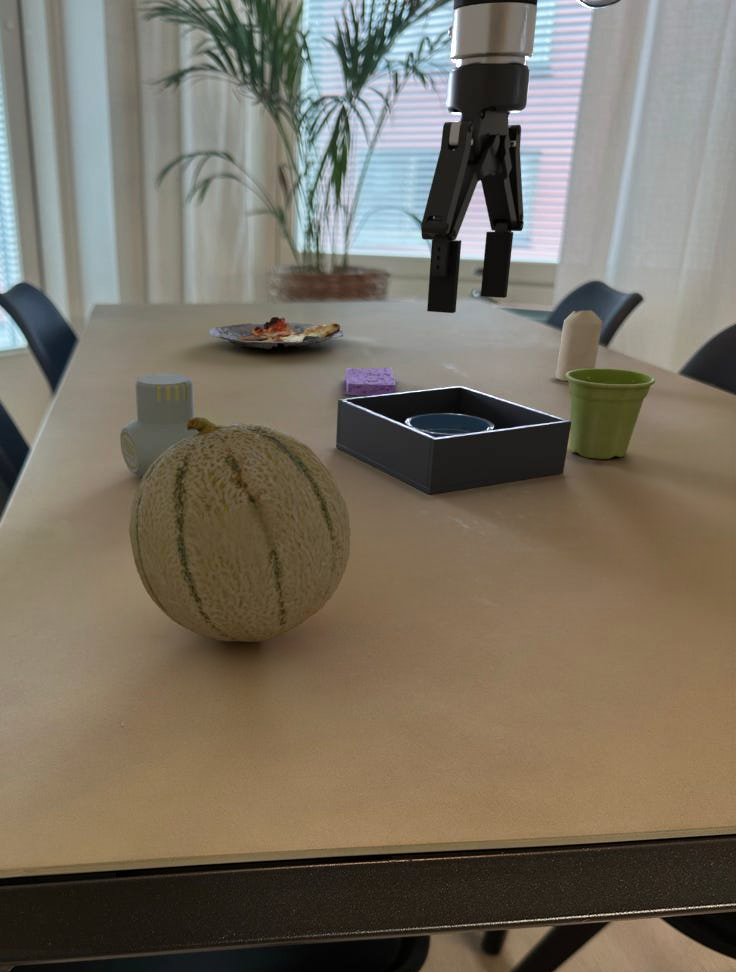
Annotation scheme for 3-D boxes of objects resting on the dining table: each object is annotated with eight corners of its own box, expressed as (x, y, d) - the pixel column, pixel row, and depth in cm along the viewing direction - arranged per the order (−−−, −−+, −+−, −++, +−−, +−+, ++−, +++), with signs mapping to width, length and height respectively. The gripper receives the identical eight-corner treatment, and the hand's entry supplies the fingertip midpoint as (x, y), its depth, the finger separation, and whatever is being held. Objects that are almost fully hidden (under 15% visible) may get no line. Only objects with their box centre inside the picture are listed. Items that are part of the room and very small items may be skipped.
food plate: (281, 329, 184) (281, 311, 183) (368, 344, 169) (369, 324, 168) (184, 343, 169) (184, 323, 168) (270, 361, 154) (270, 339, 153)
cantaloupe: (361, 677, 59) (375, 448, 52) (132, 686, 58) (115, 453, 51) (327, 584, 72) (335, 391, 65) (140, 590, 71) (127, 395, 64)
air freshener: (118, 464, 100) (111, 372, 96) (189, 456, 103) (186, 366, 99) (144, 493, 92) (138, 393, 87) (222, 484, 94) (220, 386, 90)
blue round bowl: (508, 460, 100) (512, 428, 98) (435, 471, 96) (438, 438, 94) (456, 439, 107) (459, 409, 106) (386, 449, 104) (388, 418, 102)
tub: (563, 473, 98) (571, 421, 95) (429, 494, 91) (434, 439, 89) (456, 431, 113) (461, 385, 110) (335, 447, 107) (337, 399, 104)
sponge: (346, 396, 130) (347, 383, 129) (345, 378, 141) (346, 366, 140) (395, 397, 130) (396, 384, 129) (390, 379, 141) (391, 366, 140)
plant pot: (550, 459, 102) (562, 380, 98) (558, 438, 110) (569, 365, 106) (639, 468, 99) (655, 387, 95) (640, 446, 107) (655, 371, 103)
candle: (587, 384, 138) (598, 314, 133) (550, 379, 140) (560, 311, 136) (596, 377, 142) (608, 310, 137) (561, 373, 144) (571, 307, 140)
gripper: (501, 76, 96) (481, 289, 106) (392, 56, 78) (380, 316, 88) (571, 71, 92) (544, 293, 102) (474, 49, 74) (452, 321, 84)
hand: (468, 304), depth 95 cm, fingers open, 13 cm apart
